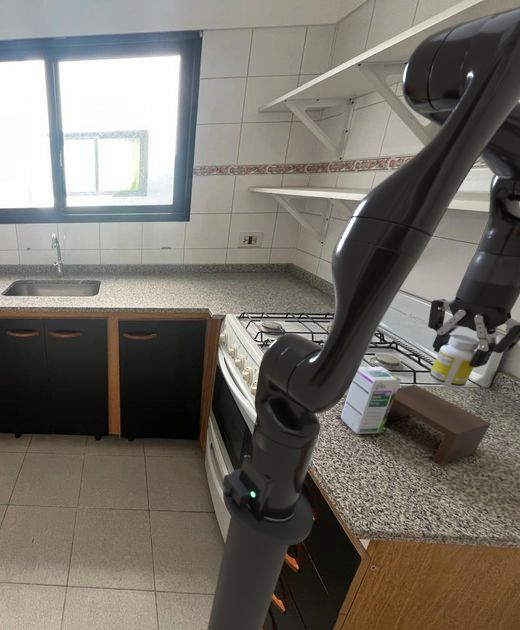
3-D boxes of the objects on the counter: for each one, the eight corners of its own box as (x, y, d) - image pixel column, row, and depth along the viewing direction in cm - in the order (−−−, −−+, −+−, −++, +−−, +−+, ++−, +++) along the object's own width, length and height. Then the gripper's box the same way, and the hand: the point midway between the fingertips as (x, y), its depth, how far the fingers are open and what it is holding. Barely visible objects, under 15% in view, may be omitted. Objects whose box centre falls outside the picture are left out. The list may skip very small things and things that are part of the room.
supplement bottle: (464, 381, 71) (485, 338, 67) (463, 392, 67) (485, 348, 63) (429, 371, 74) (447, 330, 70) (426, 381, 71) (445, 339, 67)
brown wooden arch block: (441, 465, 70) (457, 434, 66) (372, 420, 82) (383, 392, 79) (474, 453, 72) (491, 423, 69) (402, 411, 84) (414, 384, 81)
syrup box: (356, 434, 77) (376, 380, 72) (339, 417, 83) (356, 365, 77) (381, 434, 78) (403, 380, 72) (362, 416, 83) (381, 364, 77)
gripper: (433, 268, 67) (404, 345, 74) (537, 292, 55) (490, 381, 61) (460, 265, 69) (428, 339, 76) (565, 287, 57) (516, 374, 63)
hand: (456, 358), depth 69 cm, fingers closed on supplement bottle, 5 cm apart
